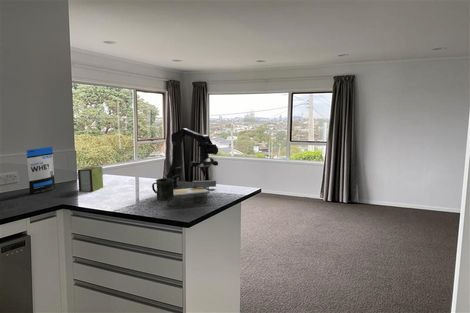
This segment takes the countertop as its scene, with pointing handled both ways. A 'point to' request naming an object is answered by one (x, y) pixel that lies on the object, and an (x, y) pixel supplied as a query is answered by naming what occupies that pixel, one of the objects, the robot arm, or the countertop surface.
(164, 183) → the mug
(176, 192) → the label panel
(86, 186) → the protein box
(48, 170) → the protein powder
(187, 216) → the countertop surface
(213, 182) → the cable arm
